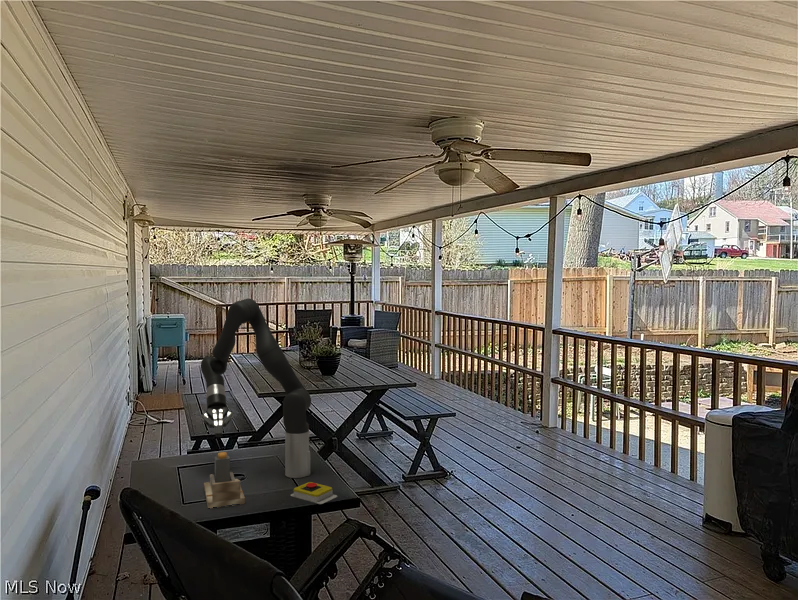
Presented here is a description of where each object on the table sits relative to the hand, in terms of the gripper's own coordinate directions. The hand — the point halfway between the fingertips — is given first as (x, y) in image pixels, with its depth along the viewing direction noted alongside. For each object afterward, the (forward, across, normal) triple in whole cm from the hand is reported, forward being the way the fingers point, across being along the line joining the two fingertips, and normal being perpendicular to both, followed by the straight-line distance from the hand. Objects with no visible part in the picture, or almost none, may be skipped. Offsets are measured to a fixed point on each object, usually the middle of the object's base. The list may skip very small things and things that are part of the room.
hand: (218, 435), depth 220 cm
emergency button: (+34, +30, -10) cm, 47 cm away
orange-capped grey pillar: (+21, 0, 0) cm, 21 cm away
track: (+26, 0, -2) cm, 26 cm away
